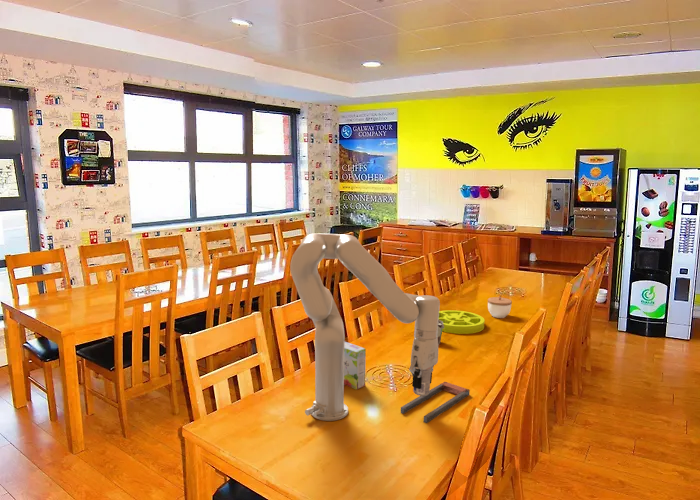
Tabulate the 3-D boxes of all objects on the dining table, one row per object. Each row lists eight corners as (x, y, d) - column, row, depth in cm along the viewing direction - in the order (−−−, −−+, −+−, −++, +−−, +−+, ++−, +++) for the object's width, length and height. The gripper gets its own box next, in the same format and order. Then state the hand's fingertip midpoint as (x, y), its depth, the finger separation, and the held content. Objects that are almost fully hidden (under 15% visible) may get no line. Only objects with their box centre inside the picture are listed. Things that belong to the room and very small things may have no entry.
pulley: (418, 324, 268) (418, 315, 268) (450, 314, 287) (451, 305, 286) (463, 338, 248) (463, 328, 248) (494, 326, 267) (495, 317, 266)
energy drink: (418, 387, 177) (421, 354, 175) (432, 392, 174) (434, 358, 172) (410, 392, 173) (412, 358, 171) (423, 397, 169) (426, 363, 167)
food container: (447, 341, 243) (448, 321, 241) (442, 345, 238) (443, 324, 236) (423, 336, 249) (424, 316, 248) (418, 340, 244) (418, 319, 243)
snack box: (316, 374, 204) (316, 337, 202) (326, 370, 208) (327, 334, 206) (356, 390, 190) (356, 351, 187) (366, 385, 194) (367, 347, 192)
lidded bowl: (488, 318, 279) (489, 299, 277) (485, 312, 291) (487, 293, 289) (512, 320, 277) (513, 300, 275) (509, 313, 289) (510, 294, 287)
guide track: (426, 423, 167) (426, 417, 166) (400, 412, 173) (400, 407, 173) (469, 394, 187) (469, 389, 187) (444, 386, 194) (444, 381, 194)
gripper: (420, 342, 161) (416, 396, 164) (449, 330, 174) (444, 381, 177) (401, 335, 166) (397, 388, 169) (430, 325, 178) (426, 374, 181)
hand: (421, 384), depth 173 cm, fingers closed on energy drink, 5 cm apart
